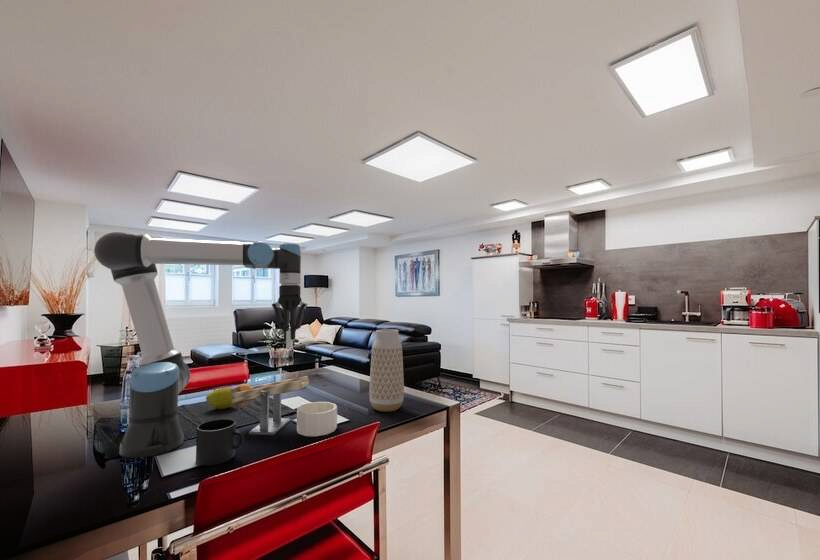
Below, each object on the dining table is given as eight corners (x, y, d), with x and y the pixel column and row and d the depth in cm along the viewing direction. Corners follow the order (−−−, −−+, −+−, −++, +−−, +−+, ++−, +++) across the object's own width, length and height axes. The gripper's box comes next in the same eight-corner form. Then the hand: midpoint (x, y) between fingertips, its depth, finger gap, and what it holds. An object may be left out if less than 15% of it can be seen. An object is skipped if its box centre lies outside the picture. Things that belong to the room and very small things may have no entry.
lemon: (239, 404, 144) (239, 384, 144) (234, 410, 136) (235, 389, 137) (209, 406, 141) (209, 386, 141) (203, 413, 134) (203, 391, 134)
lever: (233, 409, 117) (230, 389, 118) (256, 396, 132) (253, 378, 133) (303, 396, 116) (299, 375, 116) (318, 384, 131) (314, 366, 131)
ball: (238, 396, 119) (236, 386, 119) (243, 393, 123) (242, 383, 123) (248, 394, 119) (246, 384, 119) (253, 391, 122) (251, 381, 123)
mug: (236, 465, 93) (237, 430, 93) (188, 467, 92) (189, 431, 92) (249, 449, 102) (250, 417, 103) (206, 451, 101) (207, 419, 101)
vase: (410, 406, 143) (410, 329, 144) (390, 416, 131) (391, 332, 133) (382, 400, 150) (383, 328, 152) (361, 409, 139) (362, 330, 140)
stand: (249, 434, 113) (250, 392, 114) (268, 420, 126) (269, 382, 127) (273, 435, 113) (274, 393, 113) (290, 420, 126) (290, 383, 126)
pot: (290, 435, 113) (291, 413, 113) (305, 421, 125) (305, 401, 125) (329, 436, 112) (330, 414, 112) (340, 422, 124) (340, 402, 124)
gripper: (268, 284, 129) (267, 349, 128) (303, 284, 128) (303, 350, 128) (277, 285, 137) (276, 346, 136) (310, 285, 136) (310, 346, 135)
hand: (289, 348), depth 132 cm, fingers closed
